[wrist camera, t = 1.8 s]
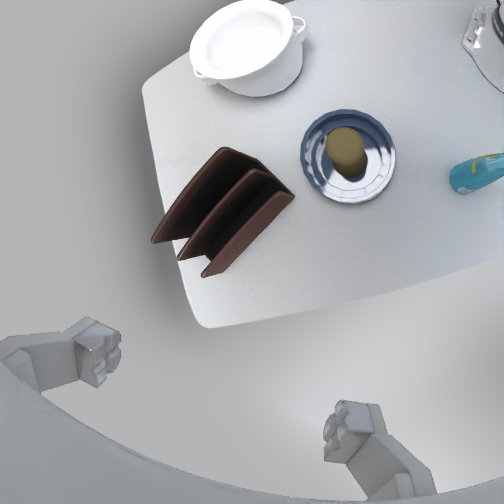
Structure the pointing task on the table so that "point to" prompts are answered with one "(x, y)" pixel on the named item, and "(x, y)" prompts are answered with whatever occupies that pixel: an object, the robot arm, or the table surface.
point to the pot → (249, 48)
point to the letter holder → (223, 209)
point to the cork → (347, 152)
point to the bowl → (321, 165)
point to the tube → (477, 173)
